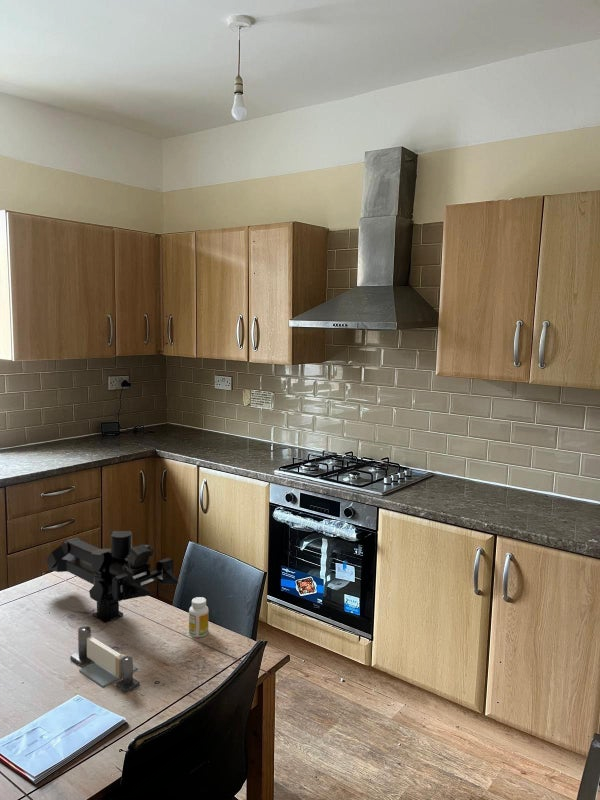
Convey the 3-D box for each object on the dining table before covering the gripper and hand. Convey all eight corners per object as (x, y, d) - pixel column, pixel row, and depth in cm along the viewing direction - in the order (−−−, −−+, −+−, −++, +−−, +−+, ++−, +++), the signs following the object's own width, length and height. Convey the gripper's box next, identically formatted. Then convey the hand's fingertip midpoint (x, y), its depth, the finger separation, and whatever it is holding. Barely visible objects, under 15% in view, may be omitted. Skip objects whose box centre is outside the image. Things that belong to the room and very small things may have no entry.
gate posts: (70, 659, 154) (69, 629, 153) (87, 651, 158) (87, 622, 157) (123, 694, 140) (123, 662, 139) (141, 684, 144) (141, 653, 143)
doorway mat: (79, 671, 149) (79, 669, 149) (114, 654, 156) (114, 653, 156) (103, 687, 142) (103, 685, 142) (138, 669, 150) (138, 667, 150)
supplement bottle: (209, 628, 172) (209, 595, 170) (207, 638, 166) (207, 604, 165) (190, 627, 171) (190, 595, 170) (187, 637, 166) (187, 604, 165)
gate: (85, 657, 152) (85, 638, 151) (92, 654, 153) (91, 635, 153) (119, 678, 144) (119, 659, 143) (125, 675, 145) (125, 656, 144)
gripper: (98, 552, 160) (134, 569, 151) (154, 535, 175) (191, 548, 165) (98, 592, 162) (134, 611, 152) (154, 571, 176) (190, 587, 167)
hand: (164, 587), depth 159 cm, fingers open, 9 cm apart
